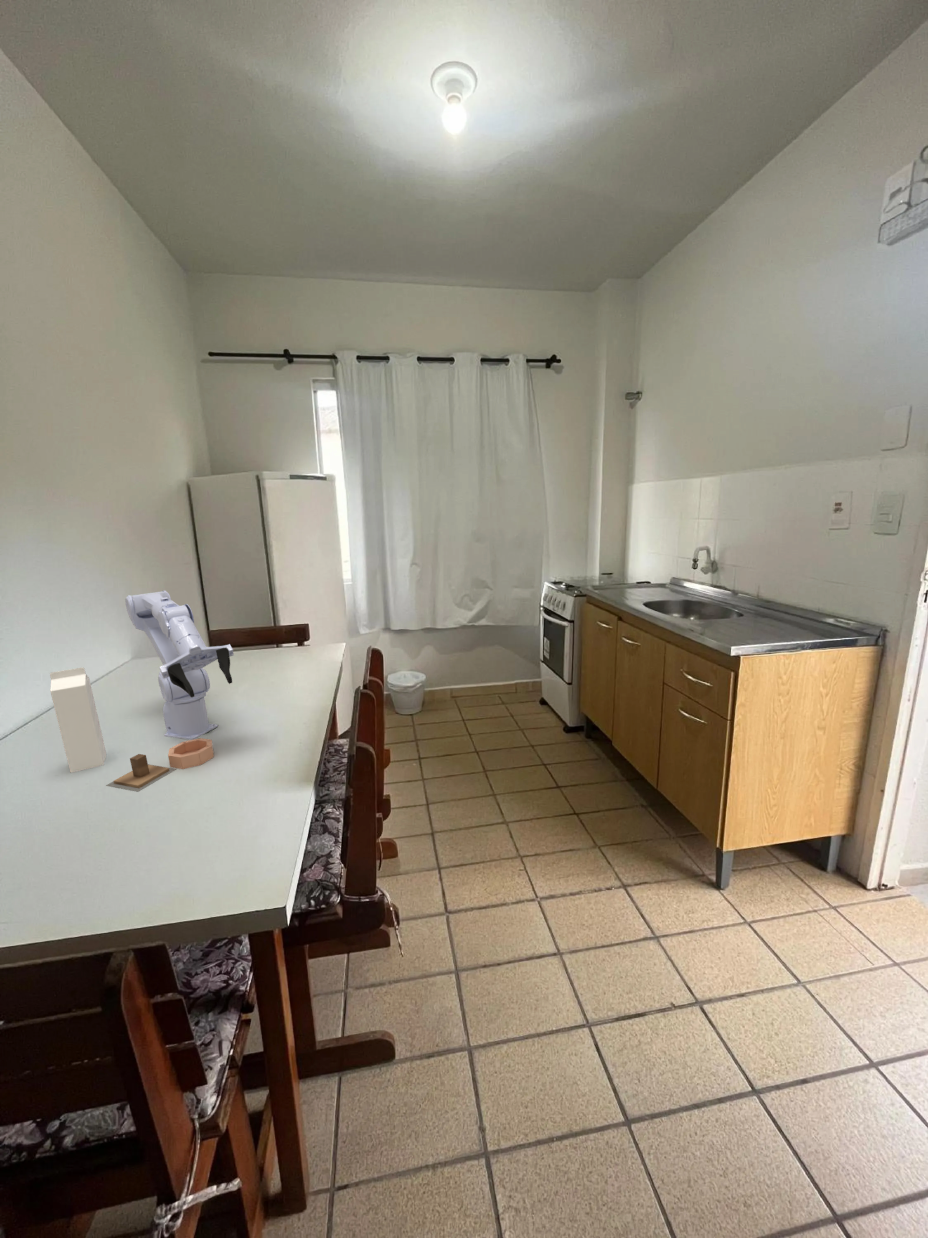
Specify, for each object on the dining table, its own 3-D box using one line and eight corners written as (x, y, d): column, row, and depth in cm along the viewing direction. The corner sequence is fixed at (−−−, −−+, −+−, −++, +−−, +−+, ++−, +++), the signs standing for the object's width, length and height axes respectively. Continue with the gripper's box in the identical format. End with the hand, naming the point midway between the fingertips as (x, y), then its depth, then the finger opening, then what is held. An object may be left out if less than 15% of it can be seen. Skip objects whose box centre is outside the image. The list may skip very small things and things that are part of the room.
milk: (104, 766, 112) (82, 670, 107) (70, 774, 109) (46, 676, 104) (107, 755, 117) (86, 663, 112) (74, 762, 114) (52, 669, 109)
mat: (105, 786, 103) (105, 785, 103) (146, 765, 111) (145, 763, 111) (138, 793, 100) (138, 791, 100) (177, 770, 108) (177, 769, 108)
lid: (113, 783, 104) (109, 763, 103) (145, 766, 110) (141, 747, 109) (139, 788, 101) (134, 767, 100) (169, 770, 108) (165, 750, 107)
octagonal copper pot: (162, 766, 110) (159, 754, 109) (193, 749, 118) (191, 737, 117) (191, 771, 107) (189, 758, 107) (222, 753, 115) (220, 740, 114)
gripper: (149, 643, 108) (170, 688, 101) (221, 622, 116) (244, 662, 109) (156, 665, 112) (176, 709, 106) (224, 643, 121) (247, 683, 114)
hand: (211, 687), depth 108 cm, fingers open, 7 cm apart
